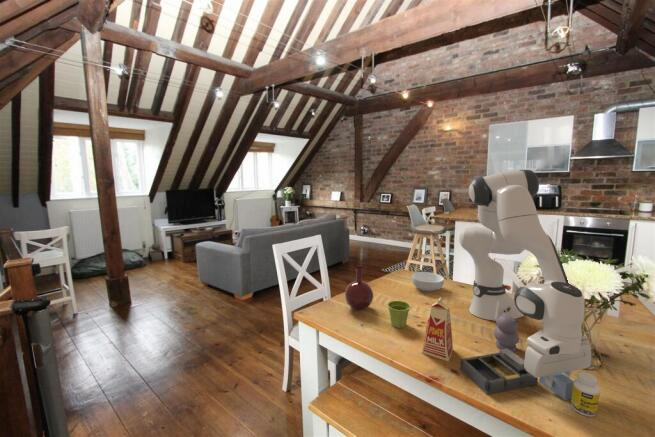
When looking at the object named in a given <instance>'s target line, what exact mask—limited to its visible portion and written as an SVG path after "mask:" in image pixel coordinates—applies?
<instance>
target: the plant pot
mask: <svg viewBox="0 0 655 437" xmlns="http://www.w3.org/2000/svg"><path fill="white" fill-rule="evenodd" d="M411 306H412V305H411V304H410V303H409V302H406V301H402V300H391V301H389V302H388V303H387V308H388V310H389V316H390V317H389V318H390V324H391V326H393V327H394V328H396V329H403V328H404V327H406V326H407V322H408V321H407V320H408V316H409V311H410V310H411V308H412V307H411Z"/></svg>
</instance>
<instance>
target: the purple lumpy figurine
mask: <svg viewBox="0 0 655 437" xmlns="http://www.w3.org/2000/svg"><path fill="white" fill-rule="evenodd" d="M495 322H496V327H495V328H494V331H493V337H494V338H495V339H496V341H495V347H496V348H497V349H498V350H499V351H500V350H501V349H509V350H510V351H512V352H513V353H516V351H517V344H518V343H519V342H520V335H519V333H518V332H517V331H518V328H519V324H518V320H516V319H514V318H512V317H511V316H508V315H506V314H505V312H504V313H503V315H502V316H500V317H498V319H497V321H495Z"/></svg>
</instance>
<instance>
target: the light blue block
mask: <svg viewBox="0 0 655 437" xmlns="http://www.w3.org/2000/svg"><path fill="white" fill-rule="evenodd" d="M551 378H552V380H554V381H555V386H553V387H549V386H548V385H546V383H545V380H546V378H545V377H544V376H543V377H538V383H541V384H542V385H543V386H545V387H546V388H547V389H549V390H550V391H551V392H553V393H554V394H555V395H557V396H558V397H560V398H561V399H562V400H564V401H567V400H571V398H572V390H573V383H574V380H573V379H571V378H570V377H569V378H568V377H566V376H565V375H563V374H562V373H558V374H553V377H551Z"/></svg>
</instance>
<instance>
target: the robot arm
mask: <svg viewBox="0 0 655 437" xmlns="http://www.w3.org/2000/svg"><path fill="white" fill-rule="evenodd" d="M539 189H540V181H539V178H538V176H537V173H535V172H534V171H533V170H532V169H531V170H530V169H520V170H511V171H510V170H509V171H502V172H499V173H494V174H493V173H492V174H488V175H485V176H479V177H475V178H473V179H472V180H471V181H470V183H469V187H468V196H469V198H470V200H471V202H472V203H474V205H476V206H477V220H478V221H479V223H480V224H481V226H471V227H470V226H469V227H464V228H463V229H462V230H461V231H460V234H459V237H458V238H459V240H458V242H459V244H460V246H461V248H463V249H464V250H465V251H466V252H467V253H468V254H469V255H470V257H471V258H472V260H473V264H474V280H473V288H472V289H473V295H472V299H471V303H470V307H469V309H468V310H469V313H471V314H472V315H473V316H475V317H478V318H480V319H484V320H489V321H493V322H496V321H497V319H498V317H500V316H502V315H503V313H504V312H505V314H506V315H508V316H511V317H512V318H514V319H515V320H516V319H519V318H523V317H524V316H525V317H527V318H530V319H533V320H537V321H541V322H542V328H541V329H539V330H538V331H537V332H535V333H534V334H532V335H530V336H528V337H527V338H526V344H527V345H528V346H527V348H526V350H525V355H524V360H525V361H524V368H525V370H526V371H527V372H528V373H529V374H531V375H532V376H534V377H536V378H538V379H539V378H540V377H543V376H544V377H545V378H546V380H545V383H546V385H548V386H549V387H553V386H555V381H554V380H552V378H551V377H553V374H558V373H562V374H563V375H565V376H566V377H568V378H570V377H571V375H572V373H573V371H577V370H578V371H579V370H584V369H588V368H590V366H591V365H592V347H591V346H590V344H591V342H590V340H589V338H588V337H587V336H586V335H583V333H582V324H583V322H584V318H585V305H586V304H585V298H584V294H583V292H582V290H581V289H579V288H578V287H577V286H575V285H573V284H571V283H570V284H569V283H568V280H569V279H568V280H567V278H568V277H567V274H566V272H565V271H566V270H565V269H564V266H563V263H562V261H561V258H560V256H559V253H558V251H557V248H556V246H555V244H554V241H553V240H552V238H551V237H550V235H549V234H547V232H545V230H544V228H543V226H542V224H541V222H540V218H539V214H538V212H537V208H536V205H535V202H534V199H533V197H535V196H536V195H537V194H538V193H539ZM525 250H526V251H528V252H530V253H531V254H533V256H534V258H535V259H536V260H537V264H538V266H539V270H540V271H541V275H542V277H543V282H544V283H540V284H528V285H524V286H520V287H518V288H517V289H516V290H515V292H514V295H513V297H512V295H510V294H509V293H507V290H508V291H510V290H512V289H511V288H512V286H511V285H508V284H504V272H505V270H504V267H503V265H502V264H501V263H500V262H498V261H496V260H495V259H494V258H491V257H490V255H489V254H496V255H506V256H509V255H510V256H511V255H520V254H522V253H523V252H524V251H525Z"/></svg>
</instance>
